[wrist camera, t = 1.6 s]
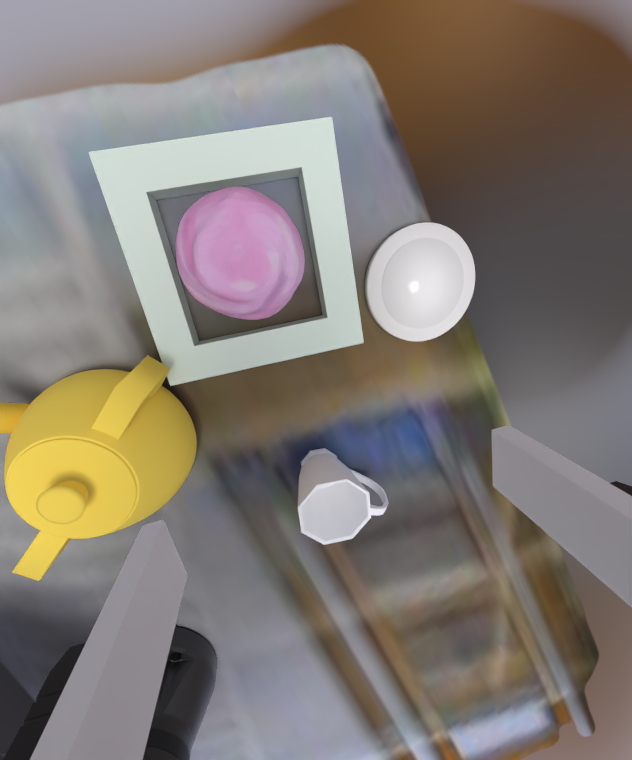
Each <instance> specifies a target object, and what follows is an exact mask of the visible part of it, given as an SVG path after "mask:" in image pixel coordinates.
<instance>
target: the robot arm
mask: <svg viewBox="0 0 632 760" xmlns="http://www.w3.org/2000/svg"><path fill="white" fill-rule="evenodd" d="M492 466H493V487H495V488H496V489H497V490H498V491H499V492H500V493H501V494H503V495H504V496H505V497H506V498H507V499H508V500H509V501H511V502H512V503H513V504H514V505H515V506H516V507H517V508H519V509H520V510H521V511H522V512H523V513H524V514H525V515H527V516H528V517H529V518H530V519H531V520H532V521H533V522H535V523H536V524H537V525H538V526H539V527H540V528H541V529H543V530H544V531H545V532H546V533H547V534H548V535H549V536H551V537H552V538H553V539H554V540H555V541H556V542H557V543H559V544H560V545H561V546H562V547H563V548H564V549H566V550H567V551H568V552H569V553H570V554H571V555H573V556H574V557H575V558H576V559H577V560H578V561H579V562H580V563H582V564H583V565H584V566H585V567H586V568H587V569H588V570H590V571H591V572H592V573H593V574H594V575H595V576H596V577H598V578H599V579H600V580H601V581H602V582H603V583H604V584H606V585H607V586H608V587H609V588H610V589H611V590H612V591H614V592H615V593H616V594H617V595H618V596H619V597H620V598H622V599H623V600H624V601H625V602H626V603H627V604H628V605H630V606H631V607H632V486H628V485H626V484H623V483H620V482H617V481H616V482H612V483H608V482H606V481H605V480H603V479H601V478H599V477H598V476H596V475H594V474H593V473H591V472H589V471H587V470H586V469H584V468H582V467H580V466H579V465H577V464H575V463H573V462H572V461H570V460H568V459H566V458H564V457H563V456H561V455H560V454H558V453H556V452H554V451H553V450H551V449H549V448H547V447H546V446H544V445H542V444H540V443H538V442H537V441H535V440H533V439H532V438H530V437H528V436H526V435H525V434H523V433H521V432H519V431H518V430H516V429H514V428H513V427H511V426H509V425H508V426H504V427H501V428H497V429H493V430H492ZM187 576H188V575H187V573H186V570H185V568H184V566H183V563H182V561H181V559H180V556H179V554H178V552H177V549H176V547H175V545H174V542H173V540H172V538H171V535H170V533H169V531H168V528H167V526H166V524H165V521H164V519H163V520H160V521H156V522H152V523H149V524H145V525H142V527H141V529H140V531H139V533H138V535H137V537H136V539H135V541H134V544H133V546H132V548H131V550H130V552H129V554H128V556H127V558H126V560H125V562H124V564H123V566H122V569H121V571H120V573H119V575H118V577H117V579H116V581H115V583H114V585H113V587H112V589H111V592H110V594H109V596H108V598H107V600H106V602H105V604H104V606H103V608H102V610H101V612H100V614H99V617H98V619H97V621H96V623H95V625H94V627H93V629H92V631H91V633H90V635H89V637H88V639H87V642H86V643H84V644H80V645H77V646H74V647H70V648H69V650H68V651H67V652H66V653H65V654H64V656H63V657H62V658H61V659H60V661H59V662H58V663H57V664H56V666H55V667H54V668H53V669H52V670H51V672H50V673H49V675H48V677H47V679H46V681H45V683H44V685H43V687H42V688H41V690H40V692H39V694H38V696H37V698H36V699H37V700H36V703H34V704H33V705H32V707H31V709H30V711H29V713H28V715H27V717H26V718H25V720H24V725H23V726H22V727H21V728H20V730H19V731H18V734H17V735H16V737H15V739H14V741H13V743H12V744H11V746H10V748H9V750H8V752H7V754H6V755H4V754H0V760H189V759H190V753H191V748H192V746H193V743H194V740H195V738H196V735H197V733H198V730H199V727H200V725H201V722H202V719H203V717H204V714H205V712H206V709H207V706H208V704H209V701H210V698H211V696H212V693H213V690H214V685H215V678H216V669H217V658H216V654H215V652H214V650H213V648H212V646H211V645H210V644H209V643H208V642H207V641H206V640H205V639H204V638H203V637H201V636H200V635H198V634H196V633H194V632H192V631H190V630H187V629H184V628H180V627H175V625H176V621H177V617H178V613H179V608H180V604H181V600H182V596H183V592H184V588H185V584H186V580H187Z"/></svg>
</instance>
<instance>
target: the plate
mask: <svg viewBox="0 0 632 760" xmlns="http://www.w3.org/2000/svg"><path fill="white" fill-rule="evenodd" d="M474 284H475V267H474V262H473V258H472V255H471V252H470V250H469V248H468V246H467V245H466V243H465V242H464V240H463V239H462V238H461V237H460V236H459V235H458V234H457V233H456V232H454V231H453V230H451V229H450V228H448V227H446V226H443V225H441V224H436V223H418V224H414V225H410V226H408V227H405V228H403V229H400V230H398V231H396V232H395V233H393V234H391V235H390V236H389V237H388V238H386V239H385V240H384V241H383V242H382V243H381V244H380V246H379V247H378V248H377V250H376V251H375V253H374V254H373V256H372V258H371V260H370V263H369V265H368V268H367V271H366V276H365V286H364V290H365V299H366V303H367V306H368V309H369V312H370V314H371V316H372V317H373V319H374V320H375V322H376V323H377V324H378V325H379V326H380V327H381V328H382V329H383V330H384V331H386V332H387V333H389V334H391V335H393V336H395V337H398V338H400V339H404V340H407V341H425V340H429V339H433V338H435V337H438V336H440V335H442V334H443V333H445V332H447V331H448V330H449V329H450V328H452V327H453V326H454V325H455V324H456V323H457V322H458V321H459V319H460V318H461V317H462V316H463V314H464V312H465V311H466V309H467V307H468V305H469V303H470V300H471V298H472V294H473V291H474Z"/></svg>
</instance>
